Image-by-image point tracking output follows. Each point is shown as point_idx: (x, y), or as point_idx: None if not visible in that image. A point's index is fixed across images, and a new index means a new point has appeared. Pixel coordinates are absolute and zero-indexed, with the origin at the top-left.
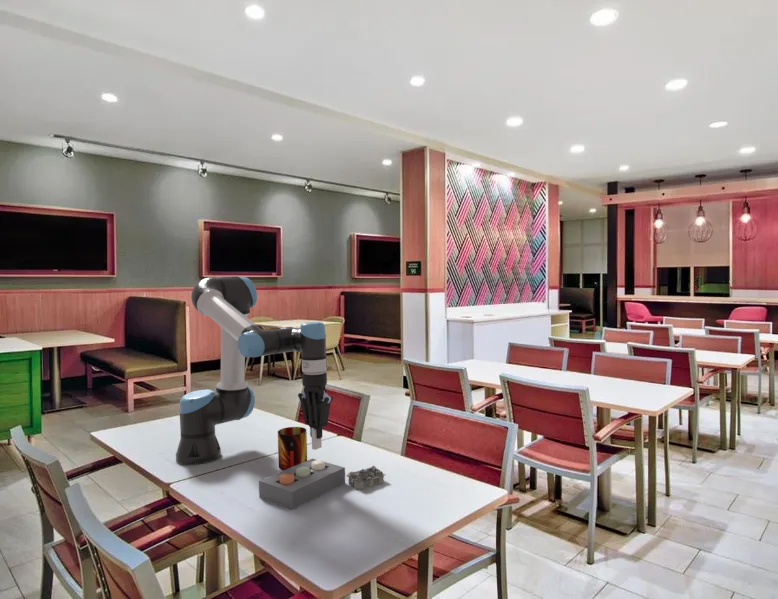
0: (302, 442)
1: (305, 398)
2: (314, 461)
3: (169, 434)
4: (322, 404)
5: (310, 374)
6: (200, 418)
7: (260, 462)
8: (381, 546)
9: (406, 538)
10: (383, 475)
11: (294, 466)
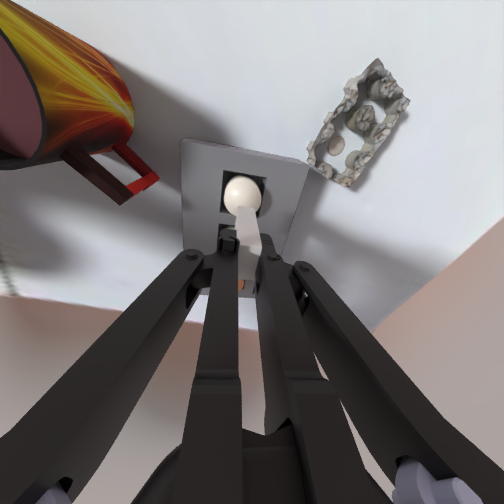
0: (77, 100)
1: (49, 483)
2: (228, 197)
3: None
4: (368, 444)
5: None
6: None
7: None
8: (394, 295)
9: (423, 275)
10: (403, 105)
11: (184, 216)
